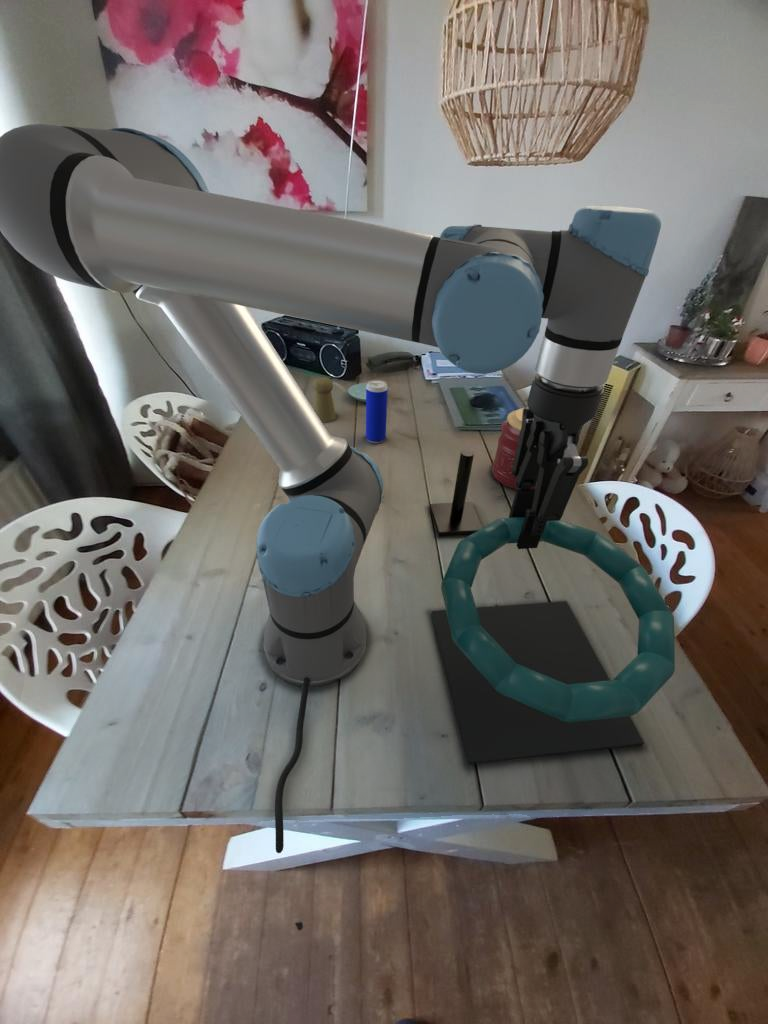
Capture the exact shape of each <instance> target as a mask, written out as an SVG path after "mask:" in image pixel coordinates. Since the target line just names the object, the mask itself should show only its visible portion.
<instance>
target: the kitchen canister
mask: <svg viewBox="0 0 768 1024" xmlns="http://www.w3.org/2000/svg"><path fill="white" fill-rule="evenodd" d="M524 408H525V407H522V408H519V409H516V410H513V411H511V412H509V413H508V414H507V417H506V420H504V421H503V422H502V423H501V426H500V430H501V434H500V435H499V437H498V440H497V447H496V451H495V455H494V458H493V461H492V466H491V468H492V475H493V477H494V479H496V480H497V481H498V482H499V483H500V484H501V485H503V486H506V487H507V488H510V489H513V490H516V489H517V488H516V486H515V481H516V477H513V476H512V467H513V463H514V458H515V454H516V449H517V445H518V440H519V436H520V431H521V427H522V414H523V409H524ZM520 468H521V466H520ZM531 489H536V487H531Z"/></svg>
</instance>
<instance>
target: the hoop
mask: <svg viewBox="0 0 768 1024" xmlns="http://www.w3.org/2000/svg"><path fill="white" fill-rule="evenodd" d="M524 519H525V517H515V518H509V517H500V518H497V519H495V520H493V521H491V522H489V523H488V524H487V525H484V526H482V527H483V528H481V529H480V530H478V531H476V532H475V533H473V534H471V535H467V536H466V537H464V538H462V539H461V540H460V541H459V542H458V543H457V545H456V547H455V550H454V553H453V555H452V557H451V560H450V562H449V564H448V566H447V569H446V572H445V574H444V577H443V579H442V581H441V585H440V590H441V595H442V599H443V603H444V608H445V610H446V613H447V617H448V621H449V626H450V630H451V634H452V638H453V641H454V643H455V644H456V645H457V646H458V647H459V649H460V650H461V651H462V652H463V653H464V654H465V655H466V657H467V658H468V659H469V660H470V661H471V662H472V663H473V664H474V666H475V667H476V668H477V669H478V670H479V671H480V672H481V674H482V675H483V676H484V677H485V678H486V679H487V680H488V682H489V683H490V684H491V685H492V686H493V687H494V688H495V690H496V691H498V692H499V693H500V694H502V695H504V696H507V697H509V698H511V699H514V700H516V701H518V702H520V703H523V704H525V705H527V706H530V707H532V708H534V709H537V710H539V711H541V712H543V713H546V714H548V715H550V716H553V717H555V718H557V719H560V720H562V721H565V722H579V721H588V720H598V719H607V718H617V717H626V716H630V717H632V716H634V715H636V714H638V713H640V711H641V710H642V709H643V708H644V707H645V706H646V705H647V703H648V702H650V701H651V699H652V698H654V696H655V695H656V694H657V693H658V692H659V691H660V690H661V688H662V687H663V686H665V684H666V683H667V682H668V681H669V680H670V679H671V678H672V677H673V675H674V674H675V669H676V659H675V657H676V656H675V655H676V654H675V653H676V652H675V617H674V615H673V614H674V613H673V612H672V610H671V608H670V607H669V606H668V604H667V602H666V601H665V599H664V598H663V596H662V594H661V593H660V591H659V589H658V588H657V586H656V584H655V583H654V582H653V580H652V578H651V577H650V575H649V573H648V571H647V570H646V568H645V567H644V566H643V565H642V564H641V563H640V562H638V561H637V560H635V559H634V558H632V557H631V555H629V554H628V553H626V552H625V551H623V550H622V549H621V548H619V547H618V546H616V544H614V543H612V541H611V540H609V539H607V538H606V537H605V536H603V535H602V534H601V533H599V532H597V531H595V530H593V529H590V528H585V527H582V526H580V525H576V524H574V523H570V522H568V521H564V520H562V519H560V520H557V521H547V523H546V526H545V529H544V532H543V534H542V535H541V538H540V541H539V543H540V542H541V543H542V542H544V543H548V544H550V545H553V546H556V547H557V548H562V549H565V550H567V551H571V552H574V553H576V554H579V555H583V556H584V557H585V558H587V559H588V561H590V562H591V563H593V564H594V565H595V566H597V567H598V568H599V569H600V570H601V571H603V572H604V573H606V575H608V576H609V577H610V578H612V579H613V580H614V581H615V582H617V583H618V585H619V586H620V589H621V590H622V592H623V593H624V595H625V597H626V600H627V601H628V602H629V605H630V606H631V608H632V610H633V613H634V614H635V615H636V617H637V619H638V631H637V633H638V635H637V655H636V656H635V658H633V659H632V660H631V661H630V662H629V663H628V664H627V665H626V666H625V667H624V668H623V669H622V670H621V671H620V672H619V673H618V674H617V675H616V676H615V677H614V678H613V679H609V681H599V682H588V683H578V684H568V685H567V684H565V683H562V682H560V681H558V680H555V679H553V678H550V677H548V676H546V675H543V674H541V673H538V672H536V671H533V670H531V669H529V668H526V667H524V666H521V665H519V664H517V663H516V662H515V661H514V660H513V659H512V658H511V657H510V656H509V655H508V654H507V653H506V652H505V651H504V650H503V649H502V647H501V646H500V645H499V644H498V643H497V642H496V641H495V640H494V639H493V638H492V637H491V636H490V635H489V634H488V633H487V632H486V630H485V629H484V628H483V627H482V626H481V623H480V619H479V616H478V612H477V609H476V608H477V605H476V601H475V598H474V595H473V594H474V593H473V591H472V587H473V584H474V581H475V578H476V575H477V573H478V570H479V567H480V564H481V562H482V560H484V559H485V558H487V557H488V556H490V555H491V554H493V553H494V552H496V551H497V550H499V549H501V548H503V547H504V546H506V545H507V544H517V542H518V539H519V535H520V532H521V529H522V525H523V522H524Z"/></svg>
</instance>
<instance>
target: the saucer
mask: <svg viewBox="0 0 768 1024" xmlns="http://www.w3.org/2000/svg"><path fill="white" fill-rule="evenodd" d="M367 384H368V382H361V383H355V384H354V385H351V386H349V388H348V389H347V392H348V394H349V395H350V396H351V397H352V398H353V399H355V400H356V401H359V402H362V403H366V386H367Z"/></svg>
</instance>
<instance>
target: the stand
mask: <svg viewBox="0 0 768 1024" xmlns="http://www.w3.org/2000/svg"><path fill="white" fill-rule="evenodd" d="M474 457H475V452H474V451H473V450H471V449H462V450H461V451H460V454H459V461H458V467H457V473H456V479H455V484H454V492H453V496H452V501H451V502H444V503H442V502H441V503H440V502H439V503H429V510H430V514H431V517H432V520H433V524H434V527H435V530H436V533H437V537H439V538H442V537H443V538H444V537H457V536H458V537H460V536H470V535H471V534H473V533H475V532H476V531H478V530H480V529H481V528H483V527H484V526H483V524H482V523H481V520H480V518H479V515H478V512H477V511H476V508H475V506H474V504H473V502H472V501H466V500H467V499H466V498H467V495H468V488H469V483H470V478H471V473H472V467H473V461H474Z"/></svg>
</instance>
